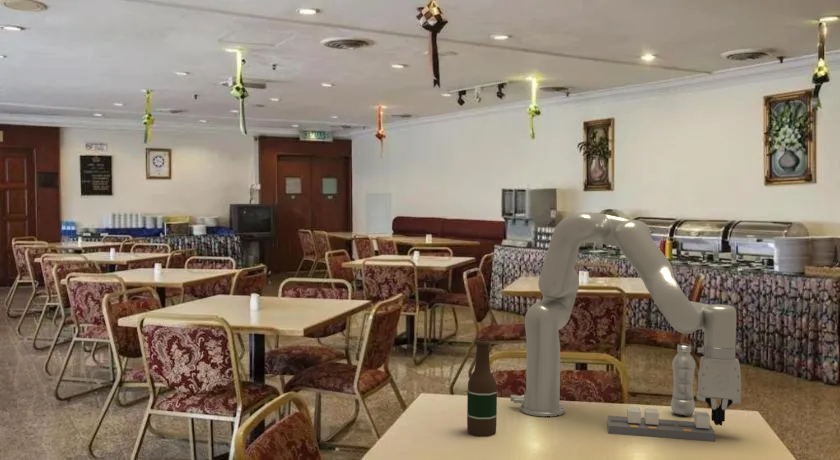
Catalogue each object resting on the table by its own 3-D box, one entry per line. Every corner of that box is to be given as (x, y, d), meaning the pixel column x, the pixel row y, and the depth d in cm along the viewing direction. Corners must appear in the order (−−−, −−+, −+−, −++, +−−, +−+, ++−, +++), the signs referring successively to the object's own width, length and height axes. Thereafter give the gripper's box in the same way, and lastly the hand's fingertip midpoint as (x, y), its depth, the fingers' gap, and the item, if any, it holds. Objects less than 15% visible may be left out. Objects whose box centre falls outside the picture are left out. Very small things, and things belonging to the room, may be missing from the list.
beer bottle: (499, 429, 194) (500, 338, 193) (492, 438, 187) (494, 343, 186) (470, 426, 196) (472, 336, 196) (462, 435, 189) (464, 341, 189)
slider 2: (645, 423, 193) (645, 412, 193) (644, 419, 197) (644, 408, 197) (658, 424, 192) (658, 413, 192) (657, 420, 196) (657, 408, 196)
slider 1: (627, 422, 194) (628, 411, 194) (627, 418, 198) (627, 406, 198) (640, 423, 193) (640, 412, 193) (639, 419, 197) (639, 407, 197)
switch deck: (608, 433, 192) (608, 425, 192) (607, 422, 202) (607, 415, 202) (715, 441, 186) (715, 433, 186) (708, 430, 196) (709, 422, 196)
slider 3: (696, 427, 190) (696, 416, 190) (694, 422, 194) (694, 411, 194) (709, 428, 189) (709, 416, 189) (707, 423, 193) (707, 412, 193)
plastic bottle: (691, 412, 214) (692, 343, 213) (697, 418, 207) (699, 347, 207) (668, 411, 214) (669, 342, 214) (673, 417, 208) (675, 346, 207)
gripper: (690, 354, 188) (689, 425, 189) (753, 357, 185) (752, 430, 185) (686, 348, 196) (685, 417, 196) (747, 351, 192) (746, 422, 193)
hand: (717, 423), depth 191 cm, fingers closed
